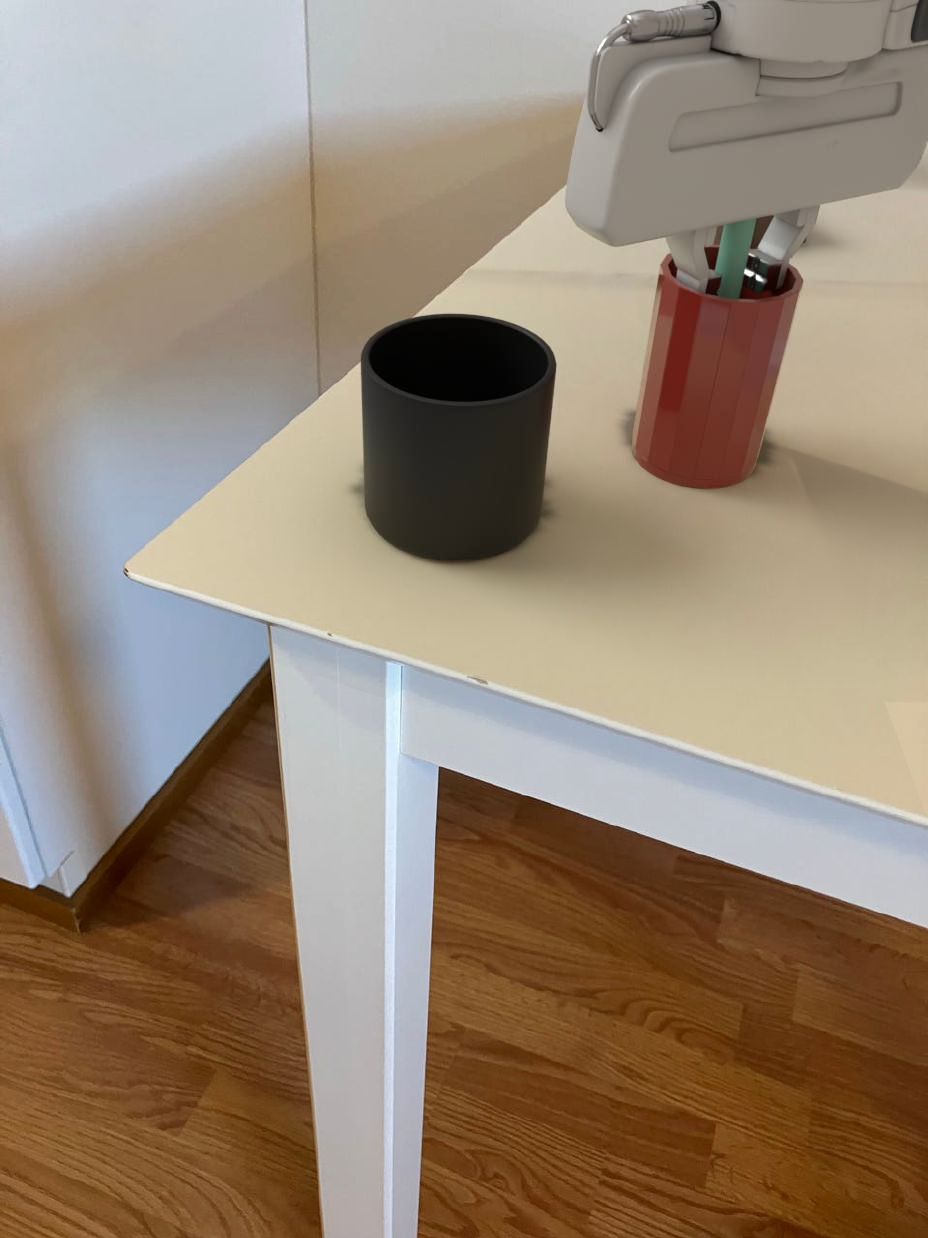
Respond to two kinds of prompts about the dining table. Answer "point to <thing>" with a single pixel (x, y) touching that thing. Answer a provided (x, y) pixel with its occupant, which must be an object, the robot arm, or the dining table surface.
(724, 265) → the straw
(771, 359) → the cup
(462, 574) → the dining table surface
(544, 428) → the mug
